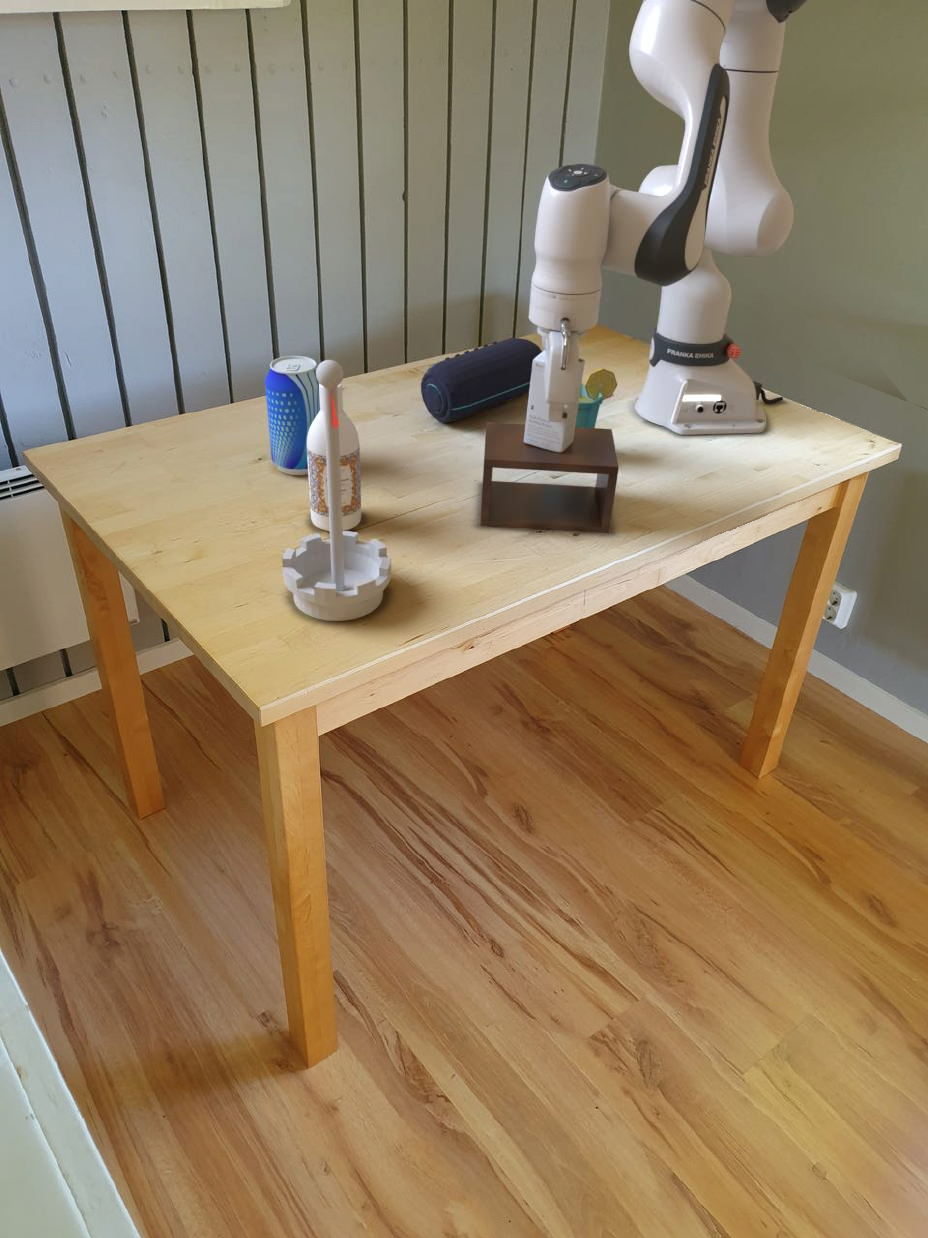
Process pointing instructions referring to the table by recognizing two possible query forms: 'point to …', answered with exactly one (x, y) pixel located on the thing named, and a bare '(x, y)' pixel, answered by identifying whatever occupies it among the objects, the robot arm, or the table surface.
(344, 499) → the bath foam
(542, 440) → the cosmetic box
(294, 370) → the beer can
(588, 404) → the cup
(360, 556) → the flag stand
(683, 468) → the table surface
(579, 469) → the shelf
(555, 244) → the robot arm
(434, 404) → the portable speaker
